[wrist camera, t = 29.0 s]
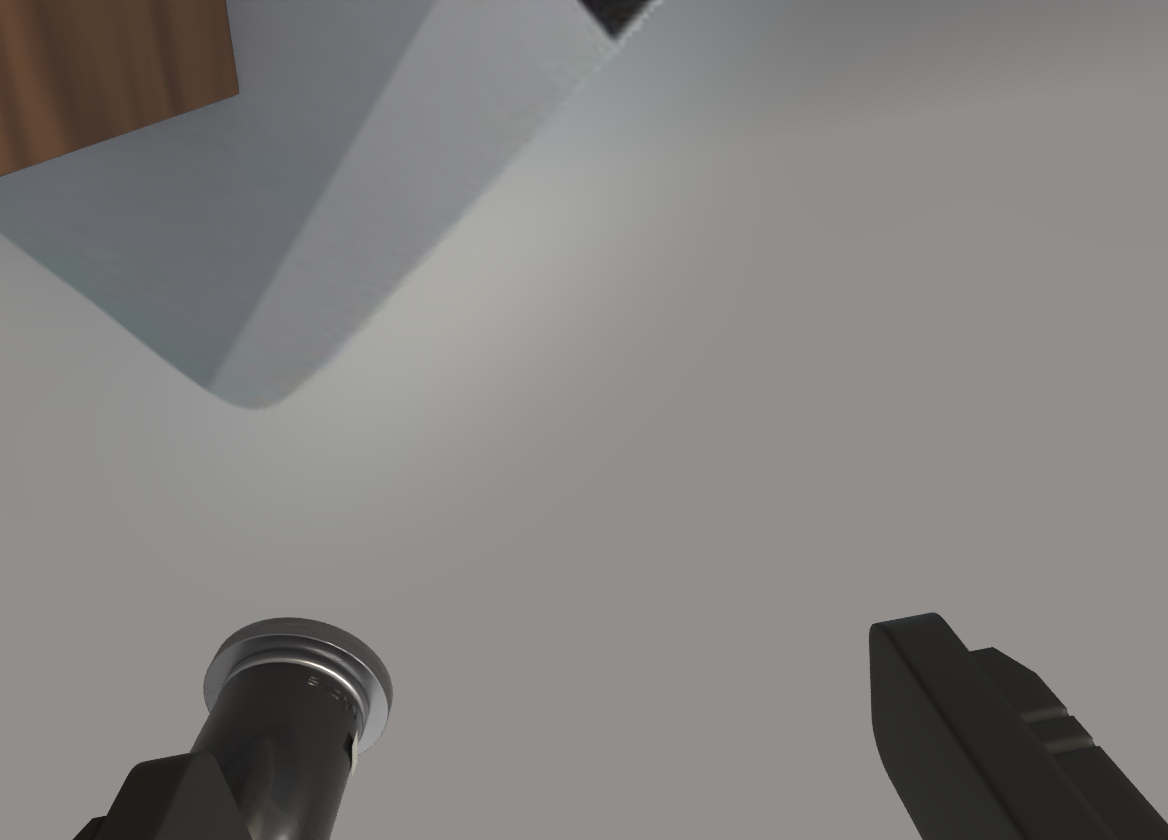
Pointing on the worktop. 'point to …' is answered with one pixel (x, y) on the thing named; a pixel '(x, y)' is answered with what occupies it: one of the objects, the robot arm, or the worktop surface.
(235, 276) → the worktop surface
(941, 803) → the robot arm
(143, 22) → the wood grain block
